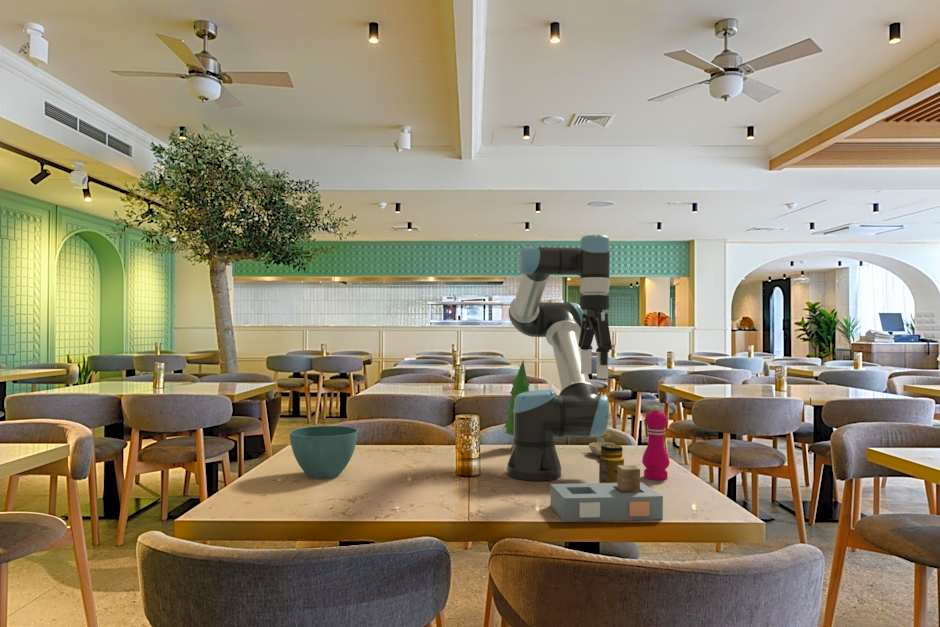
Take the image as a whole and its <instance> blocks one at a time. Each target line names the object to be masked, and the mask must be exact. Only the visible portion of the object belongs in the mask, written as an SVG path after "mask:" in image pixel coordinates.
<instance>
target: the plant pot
mask: <svg viewBox="0 0 940 627" xmlns="http://www.w3.org/2000/svg"><path fill="white" fill-rule="evenodd" d="M358 433H359V430H358V429H357V428H355V427H352V426H344V425H343V426H340V425H317V426H316V425H315V426H314V425H313V426H306V427H300V428H296V429H292V430H290V431H289V442H290V445H291V450H292V453H293V456H294V459H295V460H296V462H297V464H298V465H299V467H300V468H301V470H302V471H303V473H304V474H305V475H306V476H307V477H309V478H310V479H314V480H315V479H318V480H326V479H333V478H336V477H338V476H340V475H341V474H342V472H343V471H345V469H346V467H347V466H348V464H349V462H350V461H351V459H352V457H353V454H354V452H355V450H356V446H357V442H358V441H357V440H358V437H359V436H358Z"/></svg>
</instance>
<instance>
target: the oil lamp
mask: <svg viewBox="0 0 940 627" xmlns="http://www.w3.org/2000/svg"><path fill="white" fill-rule="evenodd" d="M591 438H593V439H596V442H590V443H589V444H588V447H589V450H590V451H591V453H592V454H593V455H594V456H595V457H600V456H601V446H602V445H604V444H615V445H617V444H616V443H613V442H605V438H612V436H611V432H610V431H609V430H608V428H607V430H606V432H605V434H604V435H602V436H599V437H591Z"/></svg>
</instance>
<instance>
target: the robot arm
mask: <svg viewBox="0 0 940 627" xmlns="http://www.w3.org/2000/svg"><path fill="white" fill-rule="evenodd" d="M610 245H611V244H610V237H609V236H607V235H603V234H588V235H583V236H582V237H581V239H580V245H579V247H557V246H556V247H552V246H551V247H549V246H527V247H526V246H524V247H522V248H521V249H520V251H519V254H518V270H519V272H520V274H521V277H520V281H519V285H518V287H517V292H516V295H515V298H514V299H512V301H511V302H510V304H509V307H508V317H509V321H510V322H511V324H512V325H513V327H514V328H515V329H516V330H518V332H520V333H521V334H523V335H526V336H527V337H532V338H545V339H546V340H545V341H546V342H547V343H548V344H549V345H550V346H552V349H553V354H554V359H555V364H556V368H557V373H558V377H559V383H560V388H561V391H560V392H559V394H557V392H556V390H554V389H536V390H529V391H528V392H524V393H520V394H518V395H517V396H516V397H515V400H514V410H513V413H514V435H513V443H514V446H513V450H512V449H511V453H510V456H509V459H508V463H507V467H506V474H507V476H509V477H511V478H513V479H517V480H524V481H535V482H536V481H537V482H538V481H539V482H541V481H542V482H543V481H552V480H556V479H559V478H560V477H562V465H561V461H560V459H559V456H558V452H557V450H556V449H557V448H556V438H591V437H599V436H602V435H604V434H605V432H606V430H607V429H608V425H609V420H610V403H609V401H610V400H609V398H608V397H609V396H607V395H605V394H599V391H598V389H597V387H596V386H595V385H594V384H592V383H591V380H590V377H589V375H592V357H593V356H592V351H593V345H592V344H593V339H595V341H596V346H597V347H596V349H595V352H596V379H609V352H610V351H612V350H613V345H612V339H611V338H612V337H611V333H610V326H609V315H608V312H603V311H606V310H607V311H608V310H609V309H610V296H609V295H608V294H610V287H611V285H612V283H611V281H610V256H611V254H610V253H611V246H610ZM550 275H560V276H561V275H563V276H564V275H565V276H567V275H568V276H579V293H580V294H582V295H580V297H579V304H578V303H576V302H569V301H565V302H555V301H554V302H550V301H549V302H547V301H546V302H545V301H544V302H543V301H541V299H542V296H543V293H544V290H545V289H546V285H547V283H548V279H549V277H550ZM584 310H585V311H586V312H585V313H584Z"/></svg>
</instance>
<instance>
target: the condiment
mask: <svg viewBox="0 0 940 627" xmlns="http://www.w3.org/2000/svg"><path fill="white" fill-rule="evenodd" d="M615 444H616V443H614V444H604V445H602V446H601V456H598V457H599V458H598V460H599V461H598V467H599V468H598V471H599V472H598V473H599V474H598V476H599V477H598V483H617V465H625V459H624V456H623V455H624V453H623V446H622V445H619V444H616V445H615Z"/></svg>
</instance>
